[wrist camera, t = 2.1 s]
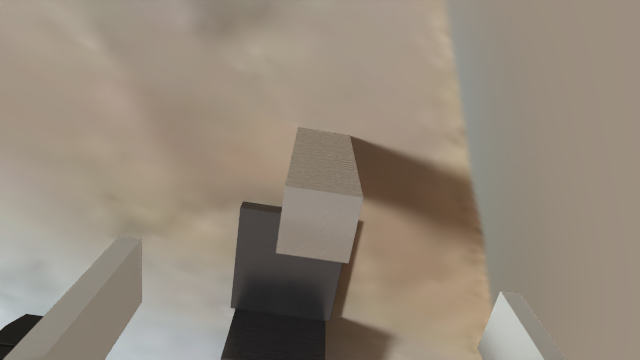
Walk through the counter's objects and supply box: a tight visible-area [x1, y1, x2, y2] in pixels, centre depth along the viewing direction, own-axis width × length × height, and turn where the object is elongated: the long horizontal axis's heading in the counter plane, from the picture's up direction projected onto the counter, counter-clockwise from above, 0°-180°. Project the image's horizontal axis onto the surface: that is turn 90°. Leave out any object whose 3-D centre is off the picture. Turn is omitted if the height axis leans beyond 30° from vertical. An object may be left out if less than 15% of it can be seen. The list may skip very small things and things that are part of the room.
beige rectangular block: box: [276, 128, 363, 263], centre depth 24 cm, size 4×4×10 cm
